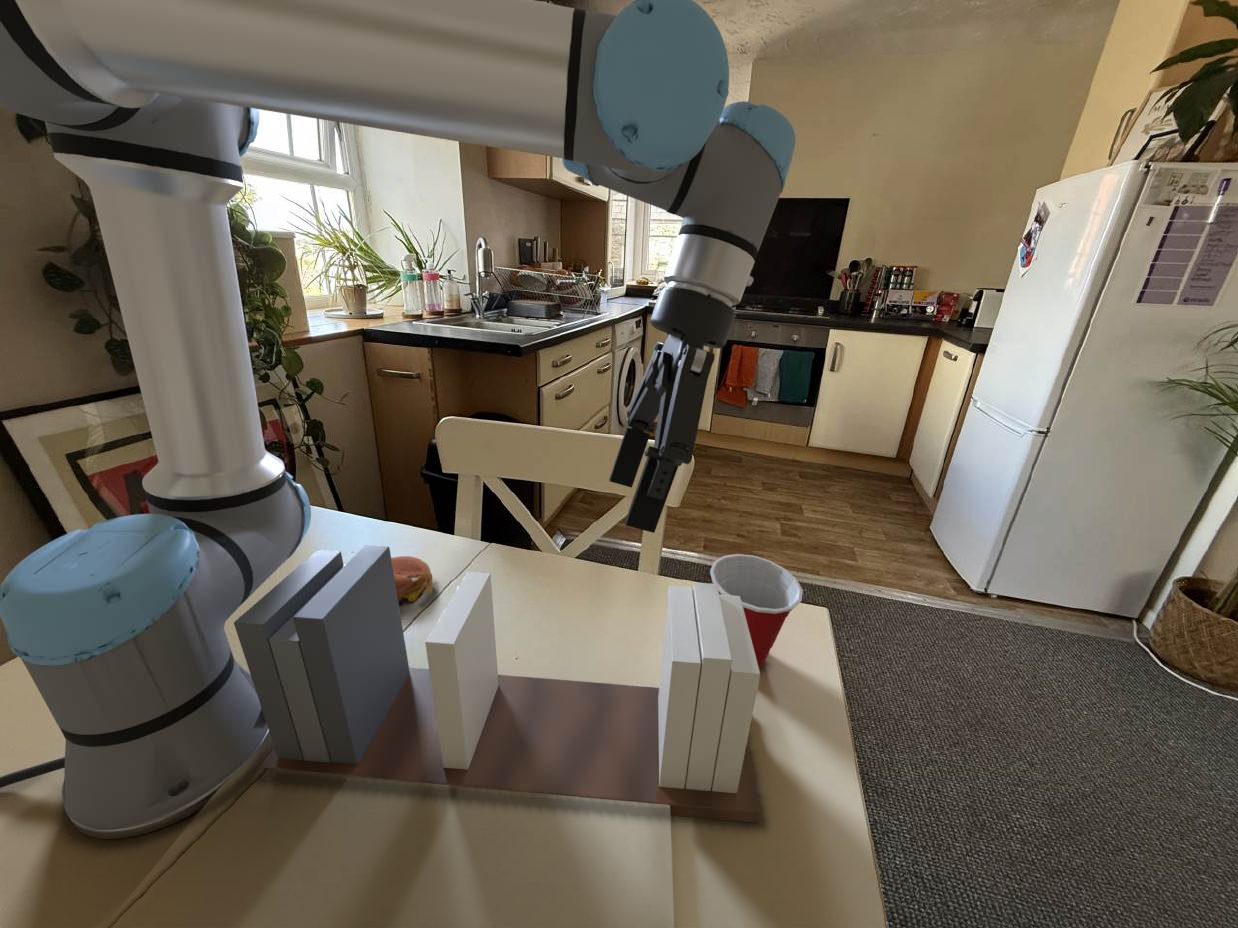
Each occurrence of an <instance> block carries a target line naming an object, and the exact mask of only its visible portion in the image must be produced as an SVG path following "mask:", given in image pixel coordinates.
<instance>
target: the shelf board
mask: <svg viewBox="0 0 1238 928" xmlns="http://www.w3.org/2000/svg"><path fill="white" fill-rule="evenodd" d="M409 671H410V675H409V677H408V679H407V680H406V682H405V684H404V686H403V687H402V689H401V691H400V692H399V694H398V696H397V698H396V699H395V701H394V703H393V704H392V706H391V708H390V710H389V711H388V713H387V715H386V716H385V718H384V720H383V721H382V723H381V725H380V727H379V728H378V730H377V732H376V733H375V735H374V737H373V739H372V740H371V742H370V744H369V745H368V747H367V749H366V751H365V752H364V754H363V756H362V757H361V759H360V761H359V763H358V764H357V765H352V764H341V763H332V762H330V763H328V762H317V761H306V760H294V759H283V758H278V757H277V754H276V751H275V748H274V747H273V748H272V749H271V750H270V751H269V752H268V754H267V756H266V757H265V758H264V760H262V762H261V763H260V764H259V766H258V768H259V769H269V770H279V771H292V772H301V773H303V772H304V773H313V774H325V775H335V776H336V775H337V776H347V777H357V778H358V777H359V778H368V779H382V780H392V781H402V782H413V783H423V784H424V783H426V784H436V785H445V786H446V785H447V786H458V787H470V788H480V789H481V788H482V789H489V790H491V789H492V790H503V791H515V792H526V793H537V794H547V795H559V796H569V797H581V798H593V799H601V800H602V799H603V800H614V801H624V802H625V801H626V802H636V803H647V804H658V805H669V812H670V813H669V814H670V816H676V817H686V818H687V817H688V818H699V819H710V820H720V821H730V822H740V823H741V822H743V823H751V824H754V823H755V824H758V823H759V821H760V817H761V808H760V803H759V797H758V792H757V791H758V790H757V786H756V782H755V775H754V771H753V767H752V766H753V765H752V760H751V756H750V751H749V746H748V743H747V744H746V749H745V755H744V760H743V765H742V770H741V775H740V780H739V785H738V790H737V793H727V792H715V791H712V788H711V791H704V790H693V789H686V788H685V787H684V789H680V788H669V787H659V722H658V695H659V686H658V687H657V686H646V685H645V686H644V685H633V684H623V683H622V684H619V683H608V682H595V681H583V680H571V679H560V678H559V679H557V678H545V677H531V676H520V675H507V674H505V675H504V674H498V683H499V685H498V688H497V691H496V694H495V696H494V699H493V702H492V705H491V708H490V710H489V713H488V716H487V719H486V721H485V724H484V727H483V730H482V732H481V735H480V738H479V741H478V743H477V746H476V749H475V752H474V754H473V757H472V760H471V763H470V765H469V768H468V770H466V769H455V768H444V767H443V763H442V756H441V749H440V742H439V735H438V728H437V721H436V714H435V707H434V700H433V693H432V686H431V679H430V672H429V668H419V667H409Z"/></svg>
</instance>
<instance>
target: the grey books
mask: <svg viewBox="0 0 1238 928" xmlns="http://www.w3.org/2000/svg"><path fill="white" fill-rule="evenodd" d="M391 558H392V554H391V548H390V546H386V545H385V546H383V545H371V544H366V545H364V546H363V547H362V548H360V550H359V551H358V552H357V553H355V555H354V556H353V557H352V558H350V560H349V561H348V562H346V563H344V560H343V555H342V551H339V550H323V549H317V550H316V551H314V552H313V553H312V554H311V555H310V556H308V557H307V558H306V559H305V560H304V561H303V562H302V563H300V564H299V565H298V566H297V567H296V568H295V569H293V570H292V571H291V572H290V573H289V574H288V575H287V576H286V577H284V578H283V579H282V580H281V581H280V582H278V583H277V584H276V585H275V586H274V587H272V588H271V589H270V590H269V592H266V594H264V596H262V597H261V598H260V599H259V600H258V601H256V602H255V603H254V604H253V605H252V606H251V607H250V608H248V609H247V610H246V611H245V612H244V613H243V614H241V616H239V617H238V618H237V619H236V620H235V621H233V625H234V628H235V630H236V634H237V638H238V640H239V644H240V647H241V650H242V652H243V656H244V659H245V662H246V665H247V668H248V671H249V674H250V675H251V677H252V680H253V683H254V687H255V690H256V693H257V696H258V699H259V702H260V705H261V708H262V711H263V714H264V717H265V720H266V723H267V726H268V729H269V732H268V733H269V735H270V739H271V741H272V745H273V748H275V751H276V754H277V757H278V758H283V759H294V760H306V761H317V762H328V763H330V762H332V763H341V764H352V765H357V764H358V763H359V761H360V759H361V757H362V756H363V754H364V752H365V751H366V749H367V747H368V745H369V744H370V742H371V740H372V739H373V737H374V735H375V733H376V732H377V730H378V728H379V727H380V725H381V723H382V721H383V720H384V718H385V716H386V715H387V713H388V711H389V710H390V708H391V706H392V704H393V703H394V701H395V699H396V698H397V696H398V694H399V692H400V691H401V689H402V687H403V686H404V684H405V682H406V680H407V679H408V677H409V675H410V671H409V668H410V665H409V659H408V653H407V652H408V651H407V647H406V641H405V634H404V629H403V622H402V616H401V610H400V606H399V603H398V597H397V591H396V585H395V579H394V573H393V566H392V560H391Z"/></svg>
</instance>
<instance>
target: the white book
mask: <svg viewBox="0 0 1238 928" xmlns="http://www.w3.org/2000/svg"><path fill="white" fill-rule="evenodd" d="M493 601H494V600H493V590H492V575H491V573H490V572H476V571H466V573H465V575H464V576H463V578H462V580H461V582H460V583H459V585H458V586H457V588H456V590H455V591H454V594H453V595H452V596H451V598H450V600H449V601H448V603H447V605H446V607H445V608H444V610H443V611H442V613H441V615H440V617H439V618H438V620H437V622H436V624H435V625H434V627H433V629H432V630H431V631H430V633H429V635H428V637H427V638H426V640H425V649H426V656H427V657H426V658H427V663H428V669H429V672H430V679H431V686H432V693H433V700H434V707H435V714H436V721H437V728H438V735H439V742H440V749H441V756H442V763H443V767H444V768H455V769H466V770H468V768H469V765H470V763H471V760H472V757H473V754H474V752H475V749H476V746H477V743H478V741H479V738H480V735H481V732H482V730H483V727H484V724H485V721H486V719H487V716H488V713H489V710H490V708H491V705H492V702H493V699H494V696H495V694H496V691H497V688H498V685H499V683H498V675H499V670H498V658H497V645H496V630H495V618H494V617H495V616H494V604H493V603H494V602H493Z"/></svg>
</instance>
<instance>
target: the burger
mask: <svg viewBox="0 0 1238 928" xmlns="http://www.w3.org/2000/svg"><path fill="white" fill-rule="evenodd" d="M391 560H392V566H393V573H394V579H395V585H396V591H397V597H398V603H399V607H402V606H405V605H412V604H414V603H415V602H417V601H418V600H419V599H420V598H421V597H422V596H423V595H424V594H433V592H434V591H433V590H434V584H433V573H432V572H431V568H430V566H429V565H428V563H427V562H425V561H424V560H422V559H420V558H418V557H414V556H410V555H407V556H406V555H403V556H402V555H401V556H394V557H391Z"/></svg>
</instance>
